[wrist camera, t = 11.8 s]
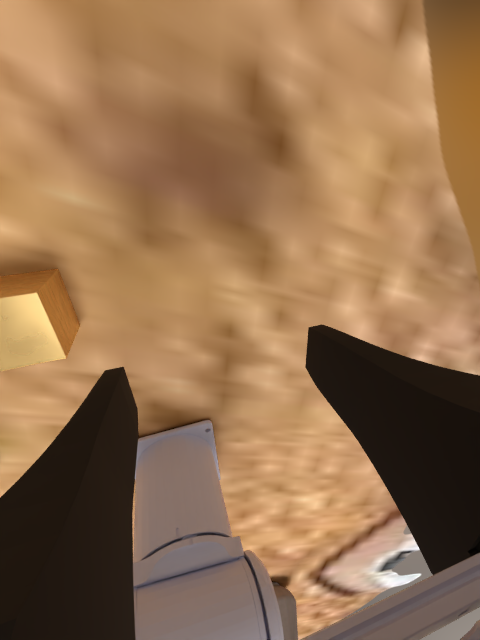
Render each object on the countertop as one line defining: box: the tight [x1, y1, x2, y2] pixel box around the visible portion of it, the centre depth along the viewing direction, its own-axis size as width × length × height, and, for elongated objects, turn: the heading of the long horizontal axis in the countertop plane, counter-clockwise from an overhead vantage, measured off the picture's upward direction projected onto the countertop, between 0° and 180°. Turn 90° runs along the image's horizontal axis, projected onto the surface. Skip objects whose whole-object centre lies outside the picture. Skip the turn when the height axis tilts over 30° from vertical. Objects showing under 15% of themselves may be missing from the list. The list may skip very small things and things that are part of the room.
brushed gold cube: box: [0, 269, 80, 371], centre depth 16 cm, size 4×4×4 cm
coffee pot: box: [272, 582, 298, 640], centre depth 44 cm, size 21×12×15 cm, turn 129°
